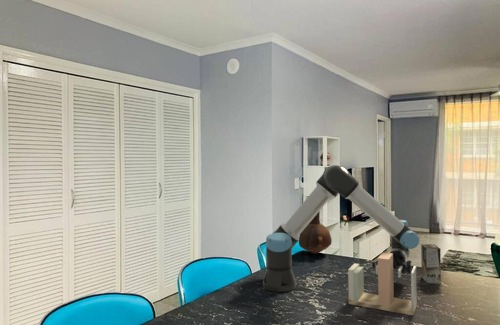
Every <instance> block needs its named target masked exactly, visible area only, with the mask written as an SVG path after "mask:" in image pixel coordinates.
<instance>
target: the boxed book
mask: <svg viewBox="0 0 500 325" xmlns="http://www.w3.org/2000/svg"><path fill="white" fill-rule="evenodd" d="M377 259H378V274H377V279H378V280H377V284H378V286H377V287H378V288H377V289H378V294H377V295H378V299H379V305H383V306H388V307H390V305H391V302H392V300H393V298H395V297H394V293H395V292H394V291H395V290H394V268H393V253H390V252H382V253H380V255H379V256H378V257H377Z"/></svg>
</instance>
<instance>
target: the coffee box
mask: <svg viewBox="0 0 500 325" xmlns="http://www.w3.org/2000/svg"><path fill="white" fill-rule="evenodd" d="M420 251H421V252H420V254H421V255H420V256H421V261H420V262H421V263H420V264H421V278H422V279H423V281H425V282H426V283H427V284H442V283H441V281H442V280H441V279H442V276H441V275H442V274H441V270H442V268H441V267H442V265H441V260H442V259H441V248H440V247H439V246H438V245H436V244H429V243H427V244H420Z"/></svg>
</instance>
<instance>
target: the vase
mask: <svg viewBox="0 0 500 325" xmlns="http://www.w3.org/2000/svg"><path fill="white" fill-rule="evenodd" d="M320 212H321V210H320V211H319V212H318V213H317V215H316V216H315V217H314V218H313V219H312V220H311V222H310V223H309V224H308V225H307V226H306V228H305V229H304V230H303V231H302V232H301V234H300V235H299V241H298V245H299V247H300V248H301V249H303V250H304V251H307V252H309V253H311V254H313V255H316V254H317V255H318V254H320V253H321V252H323V251H324V250H327V248H329V247H331V245H332V240H333V239H332V235H331V233H330V231H329V230H328V228H327V227H326V226H325V225H323V224H322V223H321V221H320Z"/></svg>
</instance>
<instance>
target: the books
mask: <svg viewBox="0 0 500 325" xmlns="http://www.w3.org/2000/svg"><path fill="white" fill-rule="evenodd" d="M364 269H365V268H364V266H360V263H355V262H354V263H353V264H352V265H351V266H350V267H349V268H348V269H347V271H348V272H347V275H348V284H347V285H348V289H347V290H348V300H355V301H359V299H360V298H361V297H362V295H363V294H364V293H365V280H364Z"/></svg>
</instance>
